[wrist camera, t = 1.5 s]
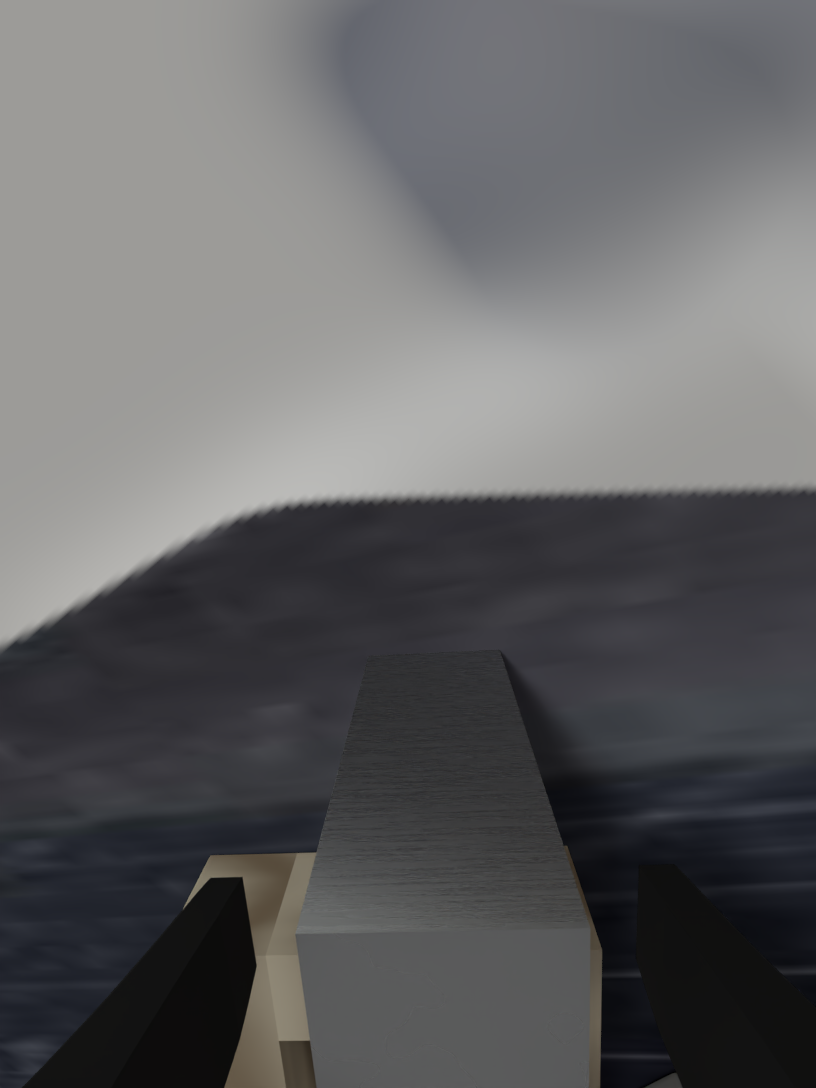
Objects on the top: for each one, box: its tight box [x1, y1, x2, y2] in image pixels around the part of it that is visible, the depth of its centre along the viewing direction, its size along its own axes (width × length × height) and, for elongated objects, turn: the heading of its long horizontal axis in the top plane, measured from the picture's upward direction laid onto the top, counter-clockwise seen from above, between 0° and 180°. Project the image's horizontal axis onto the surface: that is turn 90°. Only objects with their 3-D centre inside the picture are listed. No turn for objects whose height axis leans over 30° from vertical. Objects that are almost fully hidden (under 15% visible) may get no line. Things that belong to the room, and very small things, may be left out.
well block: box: [183, 846, 602, 1088], centre depth 17 cm, size 12×12×4 cm
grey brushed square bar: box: [295, 650, 590, 1088], centre depth 12 cm, size 4×4×9 cm
